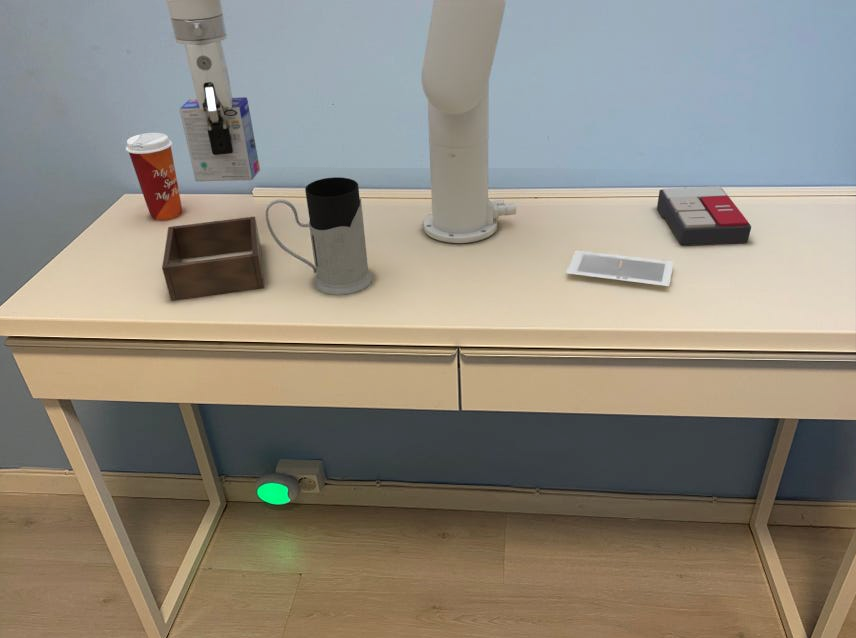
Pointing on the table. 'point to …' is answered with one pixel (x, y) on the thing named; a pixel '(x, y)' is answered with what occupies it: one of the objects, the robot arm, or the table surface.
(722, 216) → the calculator
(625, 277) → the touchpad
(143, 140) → the paper cup
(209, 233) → the desk bin
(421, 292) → the table surface
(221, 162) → the ink cartridge box
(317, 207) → the glass holder
